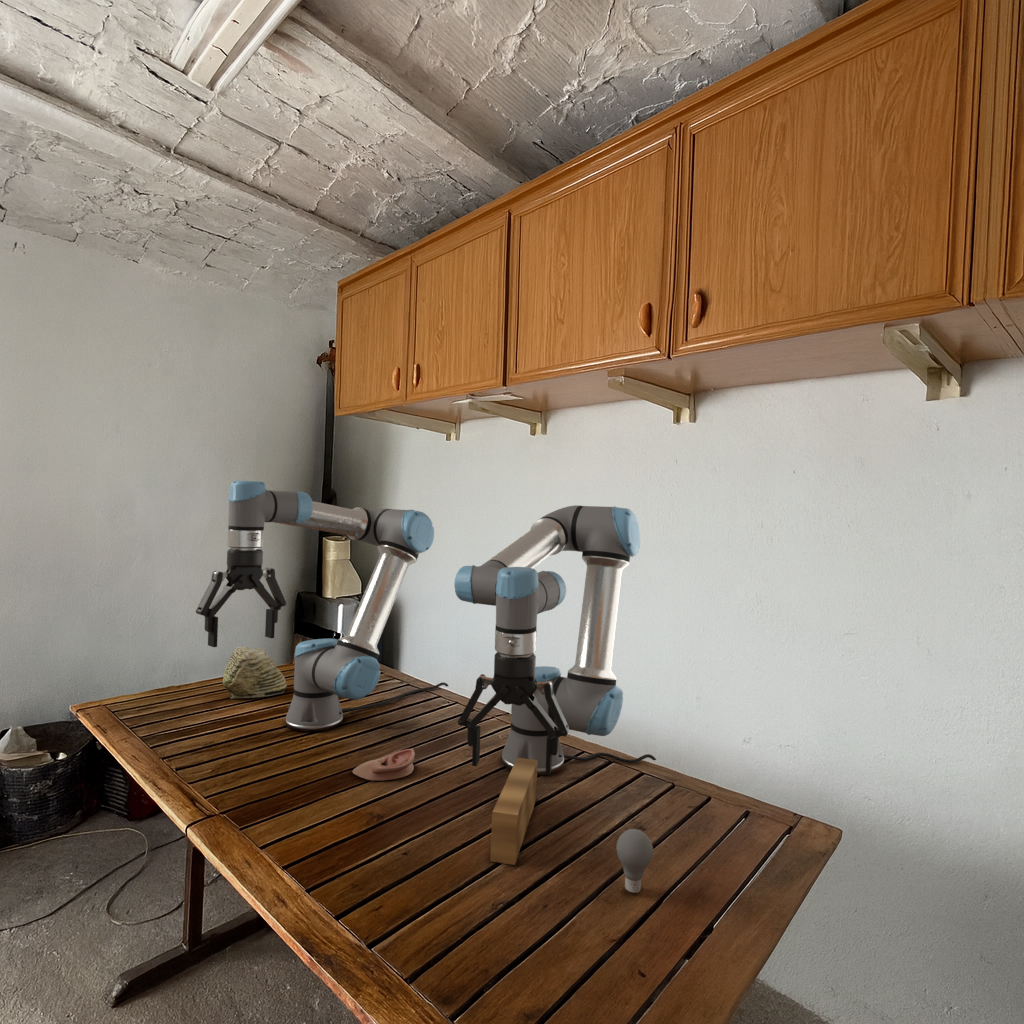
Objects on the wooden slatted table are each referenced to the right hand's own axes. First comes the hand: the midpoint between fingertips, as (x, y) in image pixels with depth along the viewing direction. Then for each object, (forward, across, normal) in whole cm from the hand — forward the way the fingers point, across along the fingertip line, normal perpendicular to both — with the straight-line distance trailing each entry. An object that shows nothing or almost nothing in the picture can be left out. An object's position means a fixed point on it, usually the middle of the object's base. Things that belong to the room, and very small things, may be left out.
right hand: (511, 767), depth 116 cm
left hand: (-14, -66, +17) cm, 70 cm away
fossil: (+16, -94, +65) cm, 115 cm away
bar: (+16, 0, +8) cm, 17 cm away
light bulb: (+15, +22, -7) cm, 28 cm away
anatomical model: (+16, -35, +24) cm, 45 cm away
